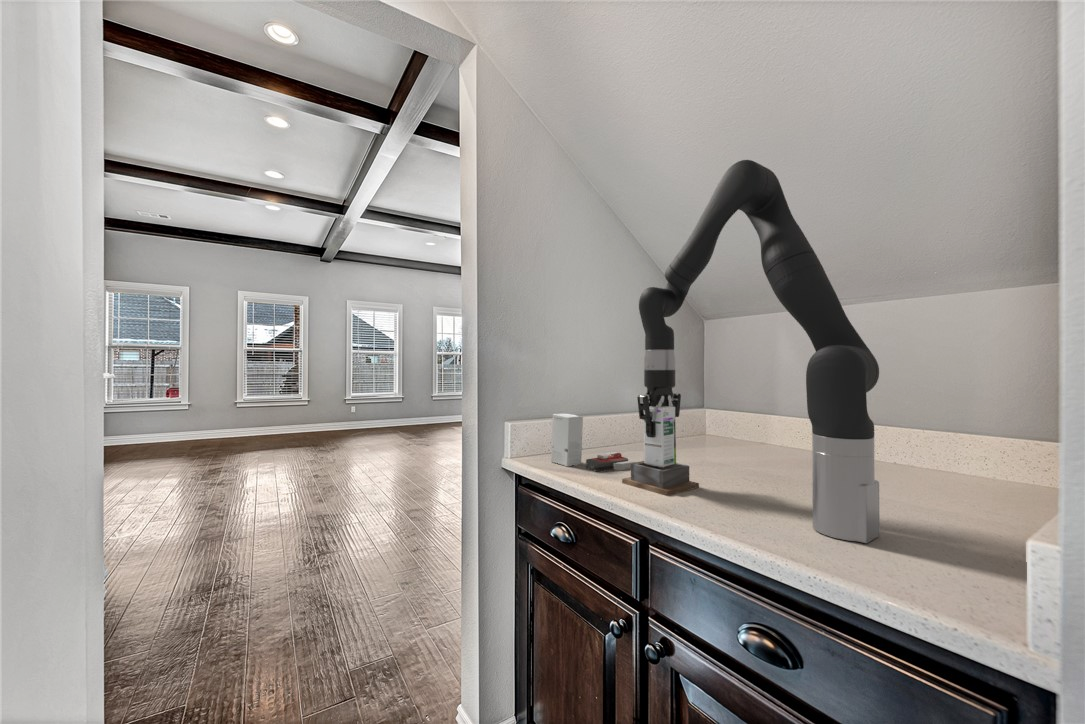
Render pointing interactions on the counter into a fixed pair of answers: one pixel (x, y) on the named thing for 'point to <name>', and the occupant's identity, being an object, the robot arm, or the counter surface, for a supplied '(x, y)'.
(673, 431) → the syrup box
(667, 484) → the holder
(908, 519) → the counter surface
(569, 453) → the skincare box
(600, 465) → the walkie-talkie
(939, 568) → the counter surface
